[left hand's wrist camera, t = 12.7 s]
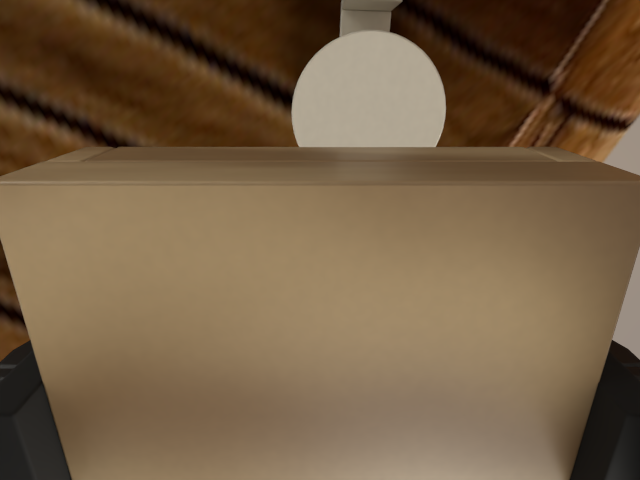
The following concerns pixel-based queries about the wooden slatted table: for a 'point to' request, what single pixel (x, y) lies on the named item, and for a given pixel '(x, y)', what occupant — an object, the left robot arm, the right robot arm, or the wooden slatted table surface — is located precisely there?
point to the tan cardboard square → (320, 307)
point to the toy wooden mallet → (369, 87)
